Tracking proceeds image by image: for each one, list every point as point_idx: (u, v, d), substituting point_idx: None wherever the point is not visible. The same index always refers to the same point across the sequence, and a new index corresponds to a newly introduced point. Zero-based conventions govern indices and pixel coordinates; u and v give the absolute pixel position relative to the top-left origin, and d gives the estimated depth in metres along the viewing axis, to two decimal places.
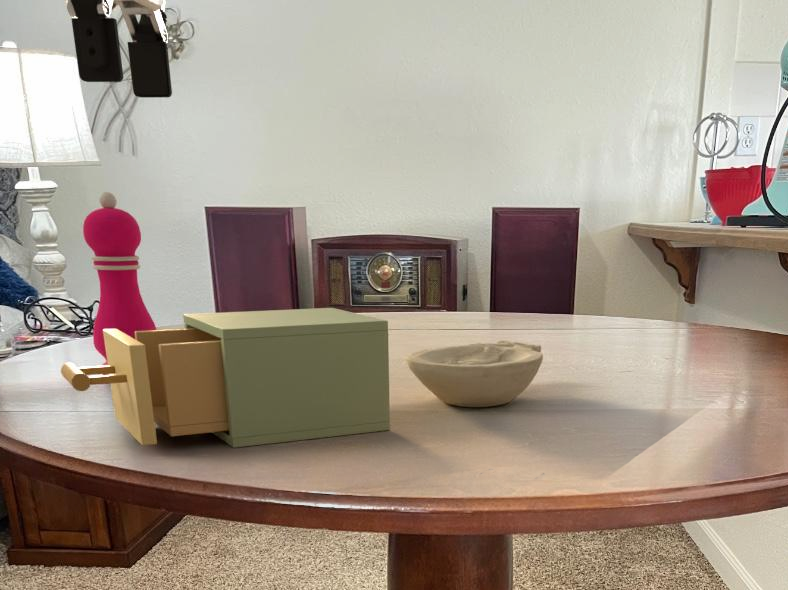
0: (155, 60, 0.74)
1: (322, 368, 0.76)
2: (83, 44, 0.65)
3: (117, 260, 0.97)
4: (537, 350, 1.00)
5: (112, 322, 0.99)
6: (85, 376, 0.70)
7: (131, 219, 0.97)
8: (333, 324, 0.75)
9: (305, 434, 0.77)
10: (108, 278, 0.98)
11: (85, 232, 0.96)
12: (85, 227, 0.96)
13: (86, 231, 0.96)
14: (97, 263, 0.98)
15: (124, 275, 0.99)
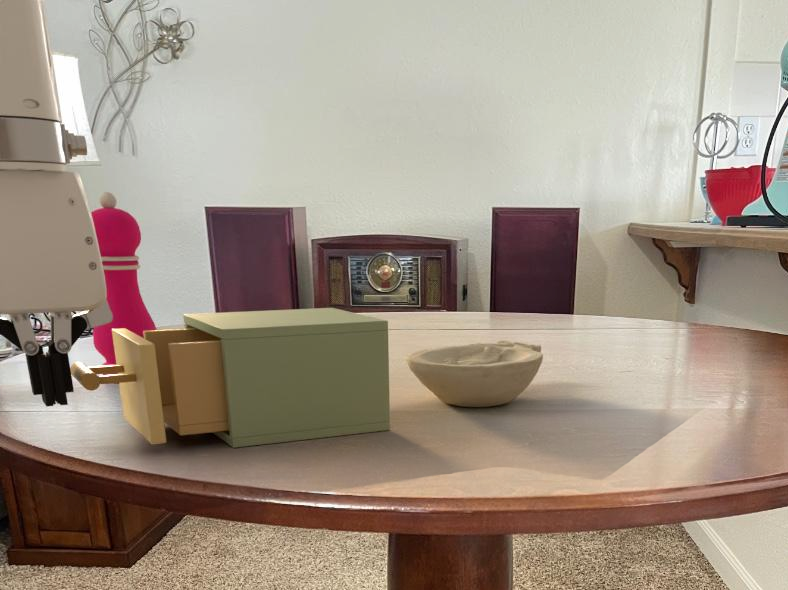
0: (51, 371, 0.71)
1: (322, 368, 0.76)
2: (29, 375, 0.71)
3: (117, 260, 0.97)
4: (537, 350, 1.00)
5: (112, 322, 0.99)
6: (95, 375, 0.70)
7: (131, 219, 0.97)
8: (333, 324, 0.75)
9: (305, 434, 0.77)
10: (108, 278, 0.98)
11: None
12: None
13: None
14: None
15: (124, 275, 0.99)
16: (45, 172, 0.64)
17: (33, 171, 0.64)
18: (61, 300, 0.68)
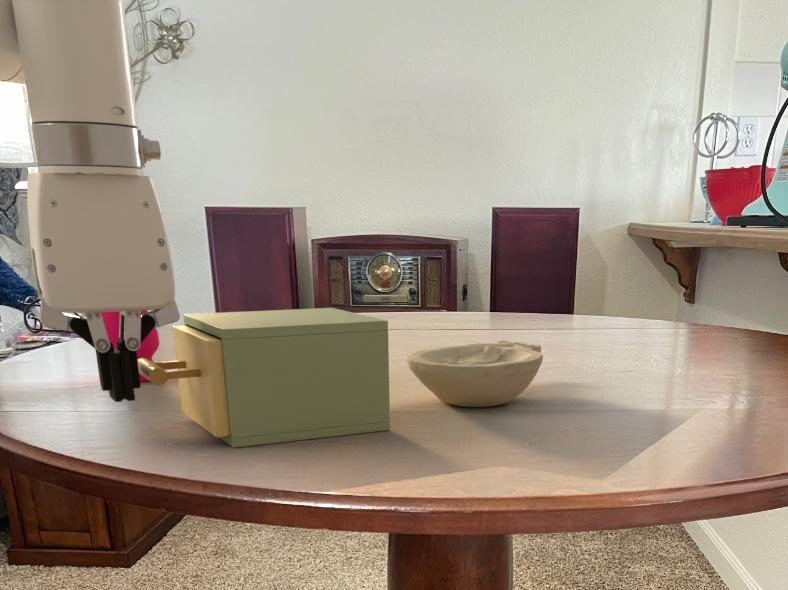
0: (120, 367, 0.73)
1: (322, 368, 0.76)
2: None
3: None
4: (537, 350, 1.00)
5: (112, 322, 0.99)
6: (162, 370, 0.73)
7: None
8: (333, 324, 0.75)
9: (305, 434, 0.77)
10: None
11: None
12: None
13: None
14: None
15: None
16: (122, 176, 0.67)
17: (111, 175, 0.66)
18: (133, 299, 0.70)
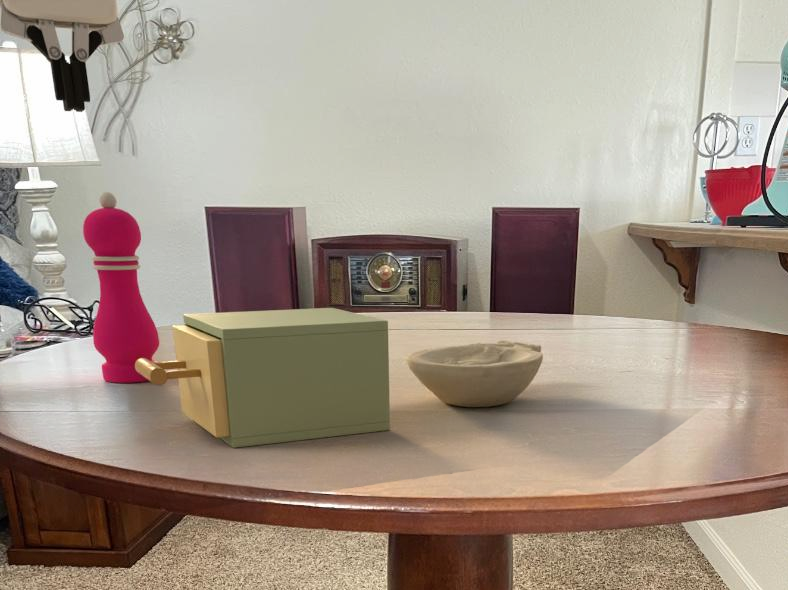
0: (72, 78, 0.84)
1: (322, 368, 0.76)
2: (53, 83, 0.85)
3: (117, 260, 0.97)
4: (537, 350, 1.00)
5: (112, 322, 0.99)
6: (162, 370, 0.73)
7: (131, 219, 0.97)
8: (333, 324, 0.75)
9: (305, 434, 0.77)
10: (108, 278, 0.98)
11: (85, 232, 0.96)
12: (85, 227, 0.96)
13: (87, 231, 0.96)
14: (97, 263, 0.98)
15: (124, 275, 0.99)
16: None
17: None
18: (80, 10, 0.82)
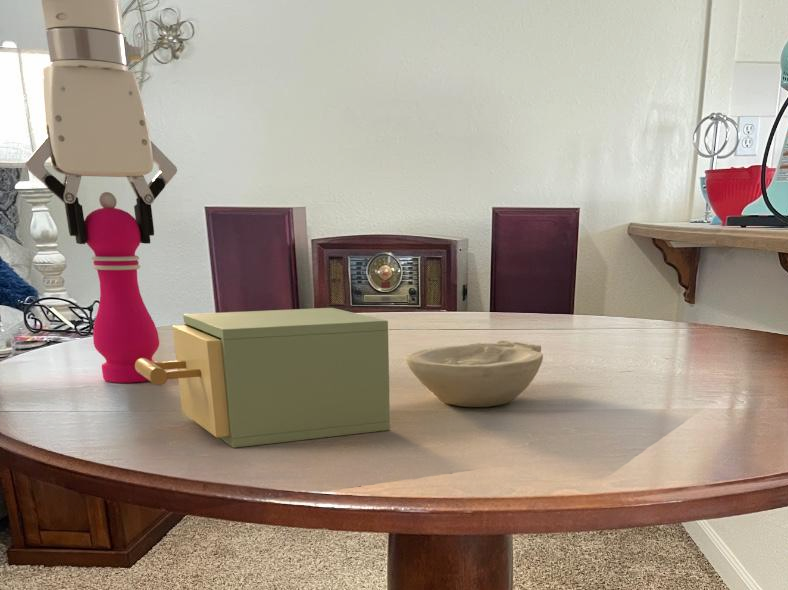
0: (139, 217, 0.98)
1: (322, 368, 0.76)
2: (67, 221, 0.96)
3: (117, 260, 0.97)
4: (537, 350, 1.00)
5: (112, 322, 0.99)
6: (162, 370, 0.73)
7: (131, 219, 0.97)
8: (333, 324, 0.75)
9: (305, 434, 0.77)
10: (108, 278, 0.98)
11: None
12: (85, 227, 0.96)
13: (87, 231, 0.96)
14: (97, 263, 0.98)
15: (124, 275, 0.99)
16: (113, 70, 0.91)
17: (104, 69, 0.91)
18: (121, 166, 0.95)
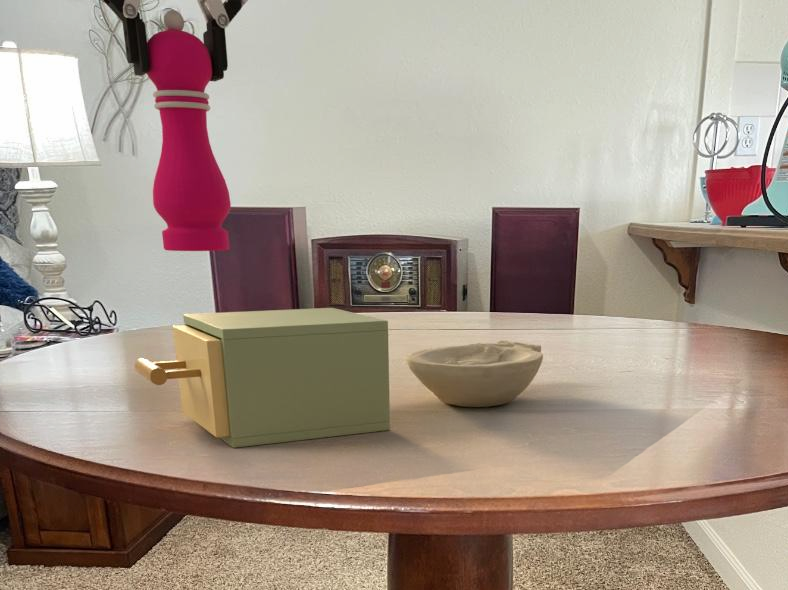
0: (211, 45, 0.81)
1: (322, 368, 0.76)
2: (125, 45, 0.79)
3: (185, 94, 0.80)
4: (537, 350, 1.00)
5: (179, 173, 0.82)
6: (162, 370, 0.73)
7: (202, 44, 0.80)
8: (333, 324, 0.75)
9: (305, 434, 0.77)
10: (174, 118, 0.81)
11: None
12: None
13: (149, 56, 0.79)
14: (161, 99, 0.80)
15: (192, 115, 0.81)
16: None
17: None
18: None
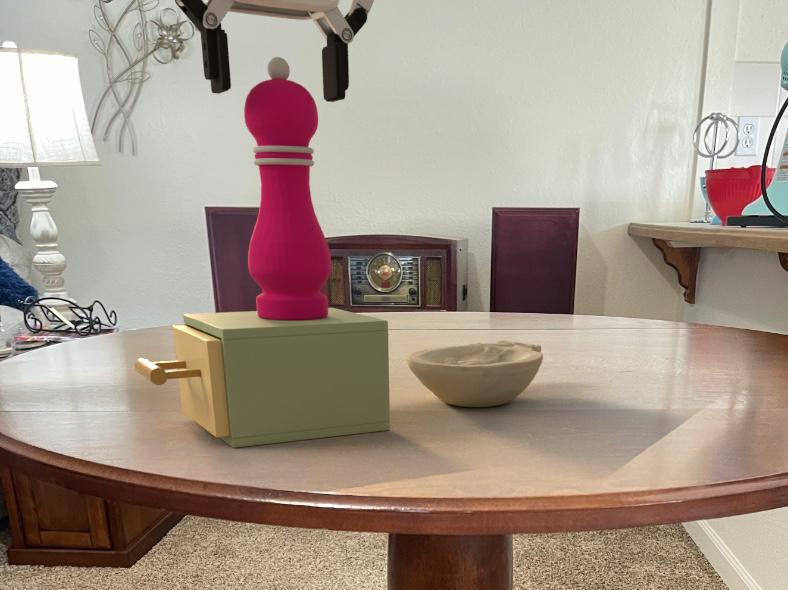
0: (332, 62, 0.73)
1: (322, 368, 0.76)
2: (203, 58, 0.69)
3: (290, 150, 0.72)
4: (537, 350, 1.00)
5: (280, 237, 0.74)
6: (162, 370, 0.73)
7: (309, 94, 0.72)
8: (333, 324, 0.75)
9: (305, 434, 0.77)
10: (276, 176, 0.73)
11: (249, 111, 0.71)
12: (249, 104, 0.71)
13: (252, 109, 0.71)
14: (263, 156, 0.72)
15: (296, 172, 0.73)
16: None
17: None
18: None
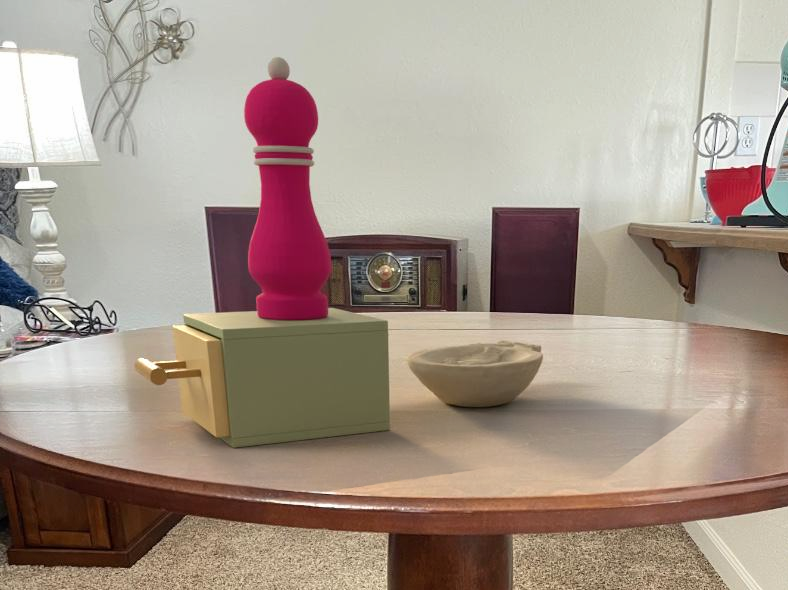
0: None
1: (322, 368, 0.76)
2: None
3: (290, 150, 0.72)
4: (537, 350, 1.00)
5: (280, 237, 0.74)
6: (162, 370, 0.73)
7: (309, 94, 0.72)
8: (333, 324, 0.75)
9: (305, 434, 0.77)
10: (276, 176, 0.73)
11: (249, 111, 0.71)
12: (249, 104, 0.71)
13: (252, 109, 0.71)
14: (263, 156, 0.72)
15: (296, 172, 0.73)
16: None
17: None
18: None
